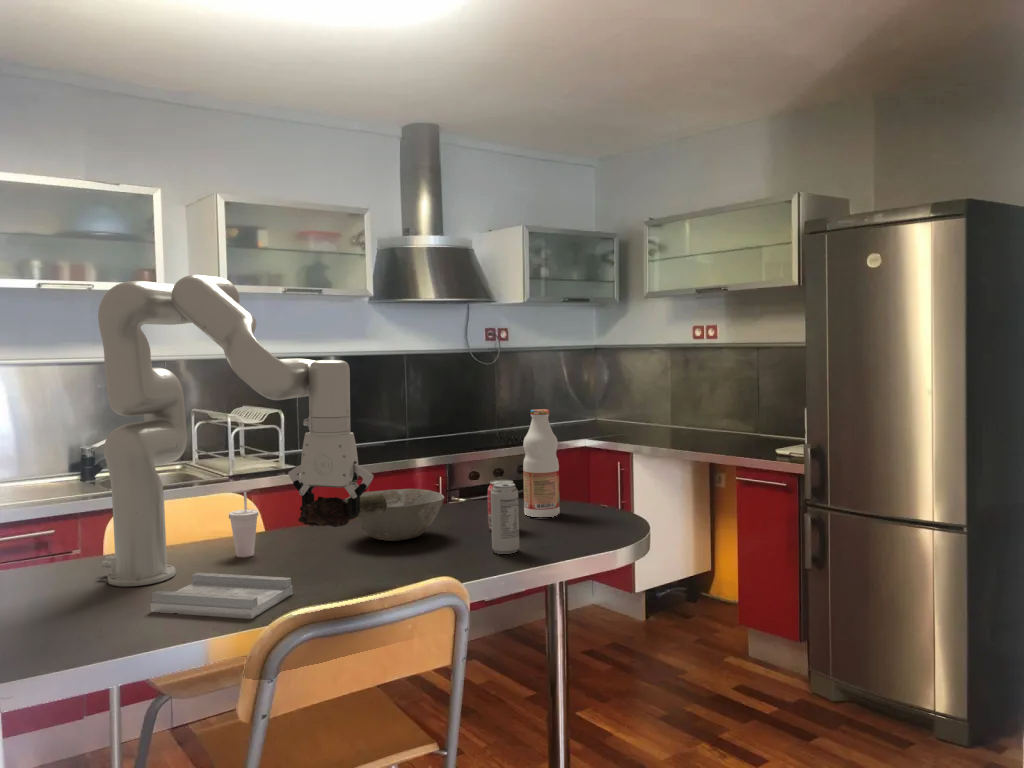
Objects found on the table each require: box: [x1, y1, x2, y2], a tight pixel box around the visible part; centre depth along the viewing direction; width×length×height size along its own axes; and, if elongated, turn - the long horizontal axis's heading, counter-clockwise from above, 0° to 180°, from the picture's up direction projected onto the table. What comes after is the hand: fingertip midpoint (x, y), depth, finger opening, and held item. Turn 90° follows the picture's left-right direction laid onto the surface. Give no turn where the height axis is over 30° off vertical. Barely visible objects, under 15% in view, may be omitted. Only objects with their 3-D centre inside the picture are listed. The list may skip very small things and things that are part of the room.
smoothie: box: [228, 491, 260, 558], centre depth 184 cm, size 6×6×14 cm
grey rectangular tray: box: [150, 572, 294, 620], centre depth 151 cm, size 20×14×3 cm
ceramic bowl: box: [348, 488, 445, 542], centre depth 197 cm, size 22×23×10 cm
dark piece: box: [297, 494, 387, 528], centre depth 159 cm, size 18×7×6 cm, turn 136°
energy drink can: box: [491, 482, 520, 555], centre depth 182 cm, size 6×6×15 cm
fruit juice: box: [522, 408, 561, 518], centre depth 218 cm, size 9×9×28 cm
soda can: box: [487, 479, 514, 531], centre depth 203 cm, size 7×7×12 cm
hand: (331, 516), depth 157 cm, fingers closed on dark piece, 8 cm apart
